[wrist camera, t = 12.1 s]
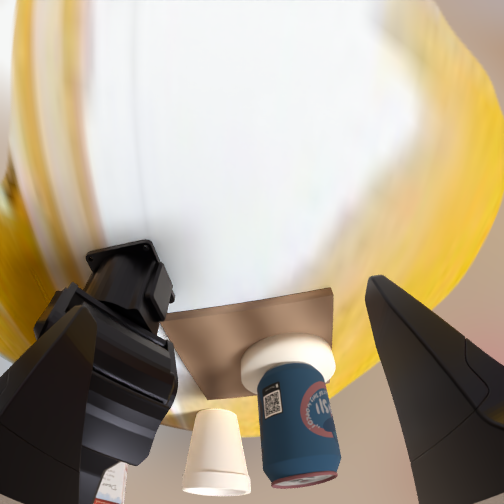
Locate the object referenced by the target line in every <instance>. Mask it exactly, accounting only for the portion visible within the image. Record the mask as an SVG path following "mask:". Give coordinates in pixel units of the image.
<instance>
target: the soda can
mask: <svg viewBox="0 0 504 504" xmlns="http://www.w3.org/2000/svg"><path fill="white" fill-rule="evenodd" d="M257 397H258V410H259V423H260V436H261V448H262V461H263V471H264V472H265V474H266V475H267V476H268V478H269V479H270V481H271V482H272V483H271V486H272V487H273V488H281V489H286V488H298V487H305V486H311V485H316V484H320V483H324V482H327V481H330V480H332V479H334V478H336V477H337V473H336V472H337V469H338V466H339V463H340V460H341V455H340V449H339V444H338V440H337V435H336V430H335V425H334V421H333V416H332V411H331V407H330V402H329V398H328V393H327V389H326V385H325V380H324V377H323V375H322V374H321V373H320V372H319V371H318V370H317V369H316V368H314V367H313V366H312V365H311V364H309V363H306V362H300V361H292V362H285V363H281V364H278V365H275V366H273V367H271V368H270V369H268V370H267V371H266V372H265V373H264V375H263V377H262V378H261V380H260V382H259V384H258V386H257Z"/></svg>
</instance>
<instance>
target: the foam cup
mask: <svg viewBox="0 0 504 504" xmlns="http://www.w3.org/2000/svg"><path fill="white" fill-rule="evenodd" d="M182 489H183V491H185V492H189V493H193V494H200V495H210V496H236V495H244V494H249V493H250V492H251V485H250V477H249V476H248V472H247V467H246V463H245V457H244V452H243V447H242V441H241V436H240V431H239V425H238V420H237V415H236V414H235V413H233V412H231V411H228V410H224V409H217V408H216V409H205V410H201V411H199V412H198V413H197V414H196V418H195V423H194V428H193V433H192V438H191V442H190V447H189V453H188V458H187V463H186V468H185V473H184V474H183V479H182Z"/></svg>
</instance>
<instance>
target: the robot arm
mask: <svg viewBox="0 0 504 504" xmlns="http://www.w3.org/2000/svg"><path fill="white" fill-rule="evenodd" d="M144 245H147V246H148V247H149V248H146V247H145V246H144ZM90 257H92V258H93V259H91V258H90ZM86 261H87V263H88V264H89V266H90V268H91V270H92V272H93V273H92V274H91V276H90V278H89V280H88V282H87V284H86V285H85V287H84V289H83V290H82V289H80V288H79V287H78V285H77V284H75V283H74V282H72V283H71V284H70V286H69V288H68V289H67V288H66V287H65V289H64V290H63V291H56V293H55V295H54V296H53V298H52V300H51V302H50V303H49V305H48V307H47V308H46V310H45V311H44V312H43V314H42V315H41V316H40V318H39V319H38V321H37V322H36V324H35V327H34V333H35V336H36V340H37V341H36V342H35V343H34V344H33V345H32V346H31V347H30V348H29V349H28V350H27V351H26V352H25V353H24V354H23V355H22V356H21V357H20V358H19V359H18V360H17V361H16V362H15V363H14V364H13V365H12V366H11V367H10V368H9V369H8V370H7V371H6V372H5V373H4V374H3V375H2V376H1V377H0V504H94V501H95V498H96V495H97V493H98V490H99V487H100V484H101V482H102V479H103V476H104V474H105V472H106V470H108V469H110V468H111V467H113V466H115V465H117V464H118V463H120V462H124V463H127V464H130V465H133V466H138V465H139V464H140V463H141V462H143V460H145V458H147V457H148V455H149V452H150V449H151V446H152V443H153V440H154V437H155V434H156V431H157V429H158V427H159V425H160V423H161V421H162V420H163V418H164V417H165V415H166V414H167V412H168V411H169V409H170V408H171V406H172V404H173V402H174V399H175V397H176V393H177V388H178V376H177V369H176V362H175V354H174V346H173V343H172V342H170V341H168V340H164V339H162V338H160V337H158V336H157V332H158V328H159V323H160V322H164V320H165V319H166V315H167V310H168V305H169V303H173V302H174V300H175V295H174V292H173V290H172V288H173V285H172V283H171V280H170V278H169V276H168V273H167V271H166V269H165V266H164V264H163V263H162V262H160V260H159V258H158V255H157V253H156V250H155V248H154V246H153V243H152V242H151V241H149V240H142V241H137V242H132V243H128V244H123V245H119V246H114V247H109V248H105V249H100V250H96V251H92V252H89V253H88V254H87V256H86ZM365 303H366V307H367V311H368V315H369V319H370V323H371V328H372V332H373V336H374V341H375V345H376V348H377V351H378V354H379V357H380V360H381V363H382V366H383V369H384V372H385V375H386V378H387V381H388V384H389V387H390V391H391V394H392V397H393V400H394V404H395V407H396V410H397V414H398V417H399V421H400V424H401V428H402V432H403V435H404V439H405V443H406V447H407V450H408V455H409V459H410V462H411V468H412V472H413V476H414V481H415V486H416V491H417V496H418V501H419V504H504V366H503V365H502V364H500V363H499V362H497V361H496V360H495V359H493V358H492V357H490V356H489V355H488V354H486V353H485V352H484V351H482V350H481V349H480V348H479V347H477V346H476V345H475V344H473V343H472V342H471V341H470V340H469V339H467V338H466V339H465V336H463V335H462V334H461V333H460V332H458V331H457V330H456V329H455V328H453V327H452V326H450V325H449V324H448V323H447V322H446V321H444V320H443V319H442V318H440V317H439V316H438V315H436V314H435V313H434V312H433V311H431V310H430V309H429V308H427V307H426V306H425V305H423V304H422V303H421V302H419V301H418V300H417V299H415V298H414V297H413V296H411V295H410V294H408V293H407V292H406V291H404V290H403V289H402V288H400V287H399V286H397V285H396V284H395V283H393V282H392V281H391V280H389V279H388V278H386V277H385V276H383V275H375V276H371V277H369V279H368V283H367V289H366V295H365Z"/></svg>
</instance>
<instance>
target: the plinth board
mask: <svg viewBox="0 0 504 504" xmlns="http://www.w3.org/2000/svg"><path fill="white" fill-rule="evenodd" d="M160 323H161V325H162V327H163V329H164V330H165V332H166V334H167V336H168V337H169V339H170V341H171V342H172V343H173V346H174V348H175V349H176V351H177V353H178V354H179V356H180V358H181V359H182V361H183V363H184V364H185V366H186V367H187V369H188V371H189V372H190V374H191V375H192V377H193V379H194V380H195V382H196V383H197V385H198V386H199V388H200V389H201V391H202V392H203V394H204V395H205V397H206V398H207V400H214V399H226V398H237V397H246V396H254V395H257V386H258V384H259V382H260V380H261V378H262V377H263V375H264V373H265V372H266V371H267V370H268V369H270V368H271V367H273V366H275V365H278V364H281V363H285V362H292V361H300V362H306V363H309V364H311V365H312V366H313V367H314V368H316V369H317V370H318V371H319V372H320V373H321V374H322V375H323V377H324V380H325V384H327V383H330V378H331V377H332V375H333V374H334V371H335V361H334V358H333V354H332V330H333V292H332V290H331V287H330V288H325V289H320V290H315V291H309V292H304V293H298V294H293V295H287V296H281V297H275V298H269V299H263V300H257V301H251V302H245V303H238V304H232V305H225V306H218V307H212V308H204V309H197V310H190V311H182V312H174V313H167V315H166V319H165V320H164V322H160Z"/></svg>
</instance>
